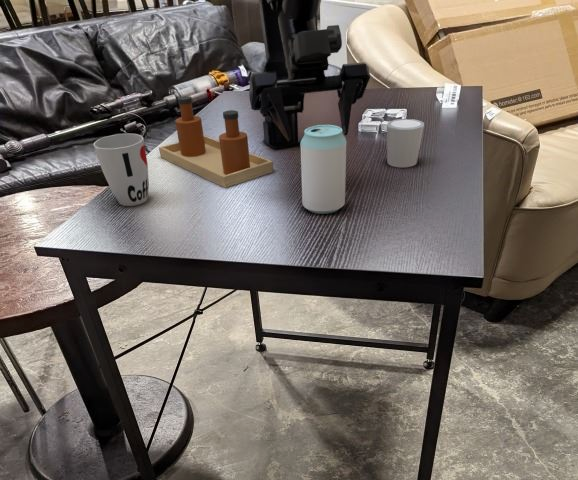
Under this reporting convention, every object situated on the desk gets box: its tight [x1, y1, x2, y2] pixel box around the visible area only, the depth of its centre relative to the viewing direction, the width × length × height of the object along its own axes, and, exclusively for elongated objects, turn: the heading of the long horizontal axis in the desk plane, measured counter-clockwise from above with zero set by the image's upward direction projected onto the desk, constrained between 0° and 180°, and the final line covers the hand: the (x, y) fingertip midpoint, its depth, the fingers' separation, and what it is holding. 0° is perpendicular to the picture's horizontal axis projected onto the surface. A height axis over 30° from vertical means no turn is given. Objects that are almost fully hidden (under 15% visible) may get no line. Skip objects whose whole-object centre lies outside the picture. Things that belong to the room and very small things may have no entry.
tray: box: [158, 134, 274, 189], centre depth 105 cm, size 24×11×2 cm, turn 39°
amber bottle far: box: [174, 95, 206, 157], centre depth 107 cm, size 5×5×10 cm
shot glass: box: [386, 118, 425, 168], centre depth 99 cm, size 7×7×7 cm
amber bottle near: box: [218, 109, 250, 175], centre depth 97 cm, size 5×5×10 cm
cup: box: [93, 133, 150, 207], centre depth 90 cm, size 8×8×10 cm
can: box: [299, 124, 347, 215], centre depth 83 cm, size 7×7×12 cm
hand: (318, 137), depth 83 cm, fingers open, 9 cm apart
